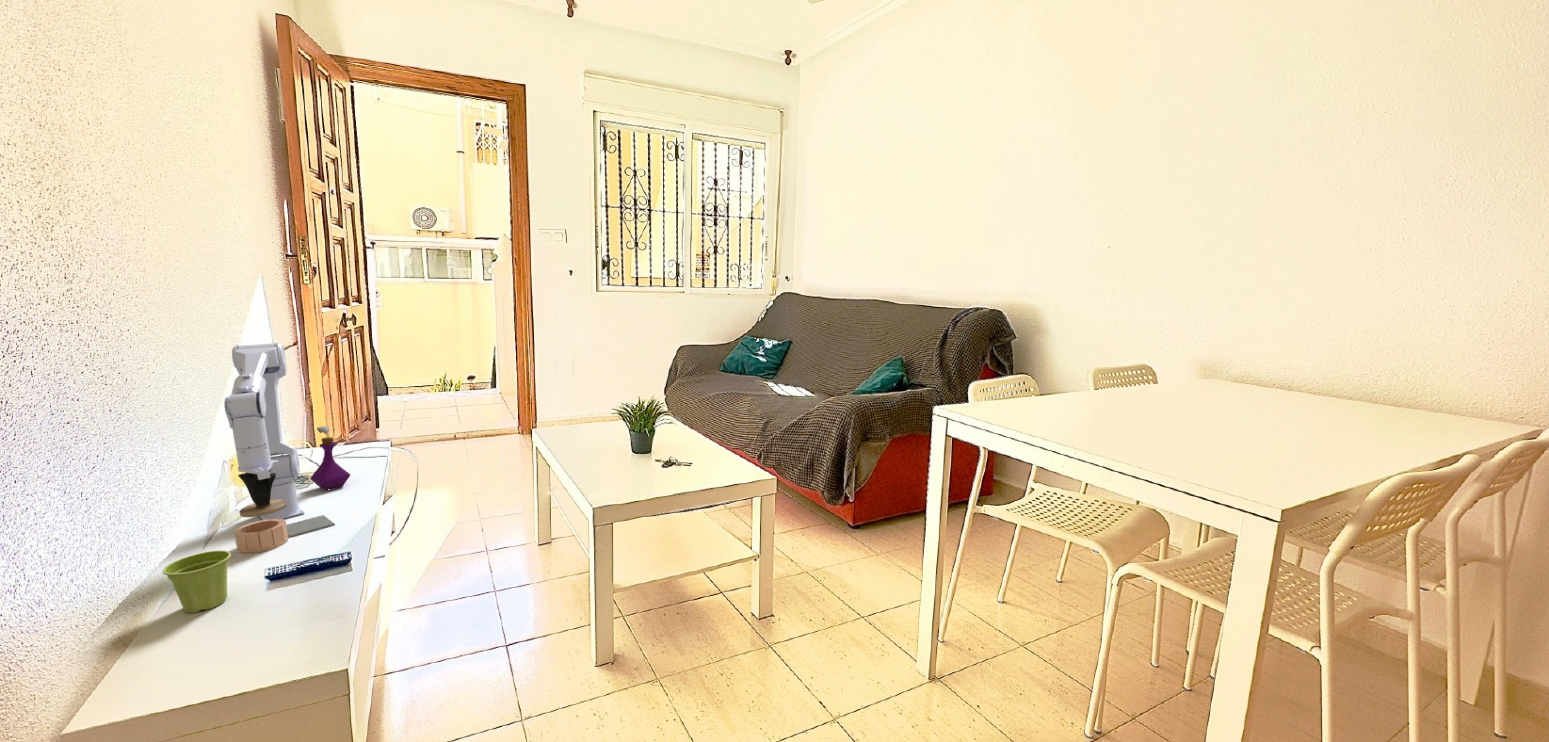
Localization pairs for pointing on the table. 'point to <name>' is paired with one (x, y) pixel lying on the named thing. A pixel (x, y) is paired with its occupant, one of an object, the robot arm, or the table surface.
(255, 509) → the lid
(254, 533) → the peach cylinder
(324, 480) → the perfume bottle
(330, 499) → the table surface
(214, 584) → the plant pot
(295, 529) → the mat
